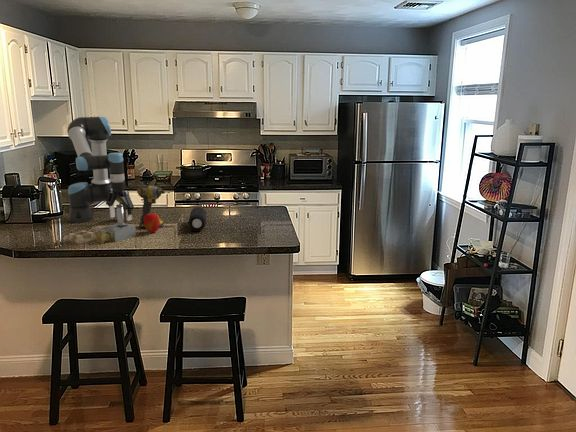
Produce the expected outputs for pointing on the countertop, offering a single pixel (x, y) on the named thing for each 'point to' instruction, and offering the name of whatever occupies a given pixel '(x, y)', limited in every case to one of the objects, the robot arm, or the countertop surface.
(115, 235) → the socket block
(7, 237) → the countertop surface
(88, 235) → the wooden square frame
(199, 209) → the portable speaker
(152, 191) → the cordless drill
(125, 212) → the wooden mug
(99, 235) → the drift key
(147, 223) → the apple
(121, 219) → the rod
